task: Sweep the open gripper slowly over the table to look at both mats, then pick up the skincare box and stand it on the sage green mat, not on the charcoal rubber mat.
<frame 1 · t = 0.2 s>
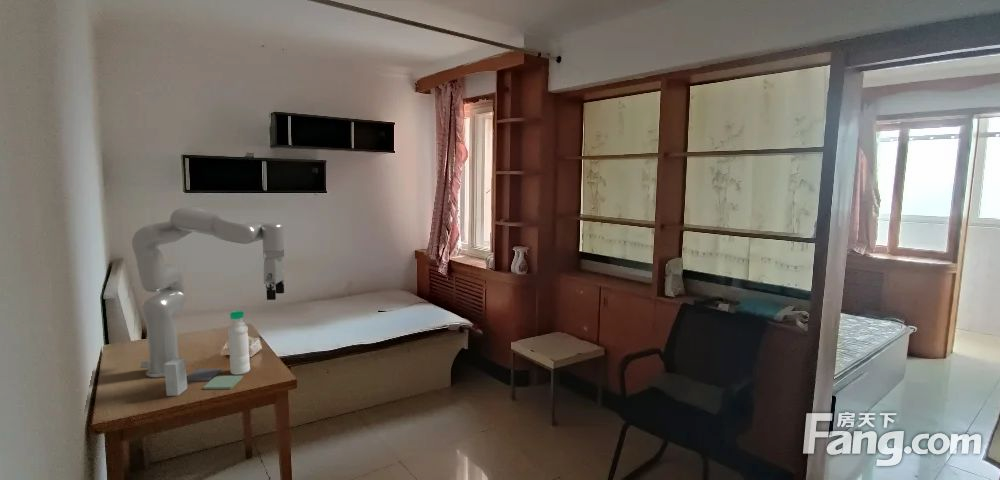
hand: (275, 296, 192), 31 cm above the table, tool pointing down, fingers open, 9 cm apart
sage mat: (223, 383, 184), on the table
charcoal mat: (203, 375, 190), on the table
water bottle: (240, 372, 194), on the table
skincare box: (177, 392, 176), on the table
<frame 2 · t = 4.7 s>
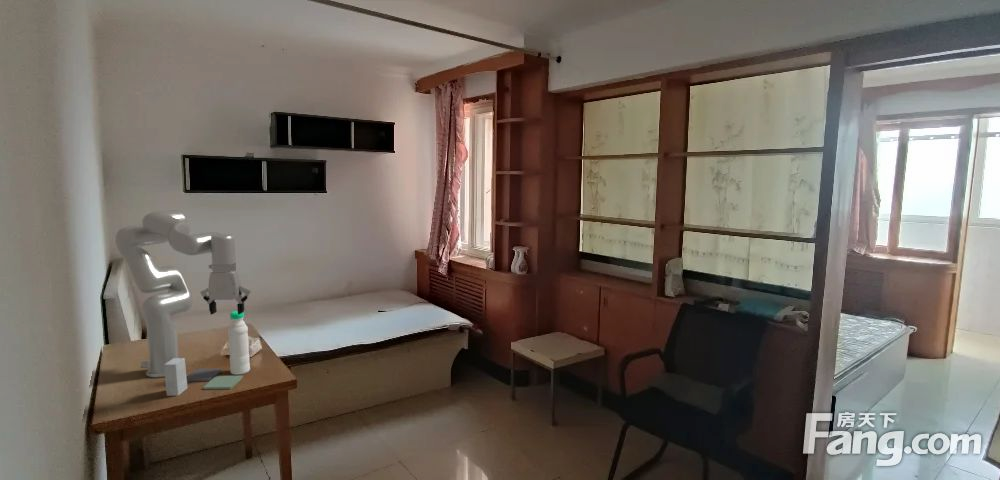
hand: (227, 313, 178), 28 cm above the table, tool pointing down, fingers open, 9 cm apart
nothing on the table moved.
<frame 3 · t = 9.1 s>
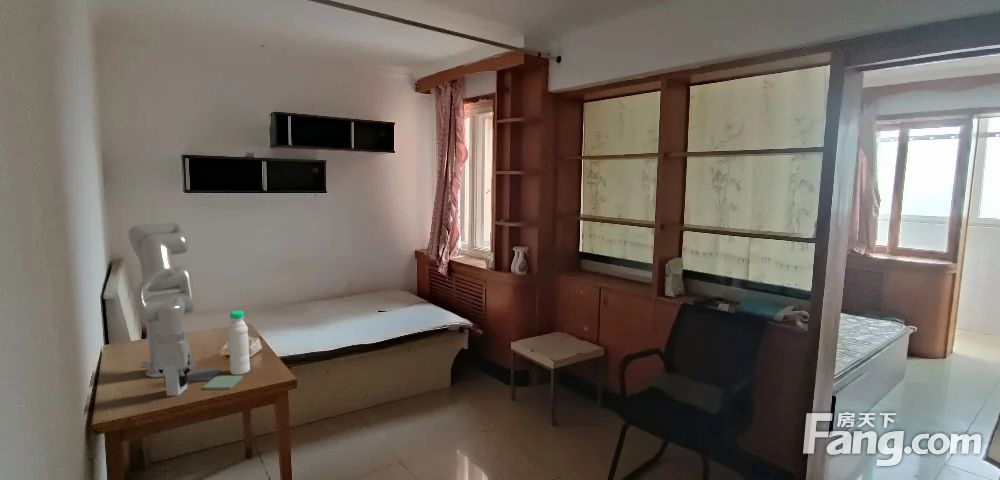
hand: (176, 384, 175), 3 cm above the table, tool pointing down, fingers closed on skincare box, 4 cm apart
skincare box: (177, 392, 176), on the table, touching gripper
everything else where it was.
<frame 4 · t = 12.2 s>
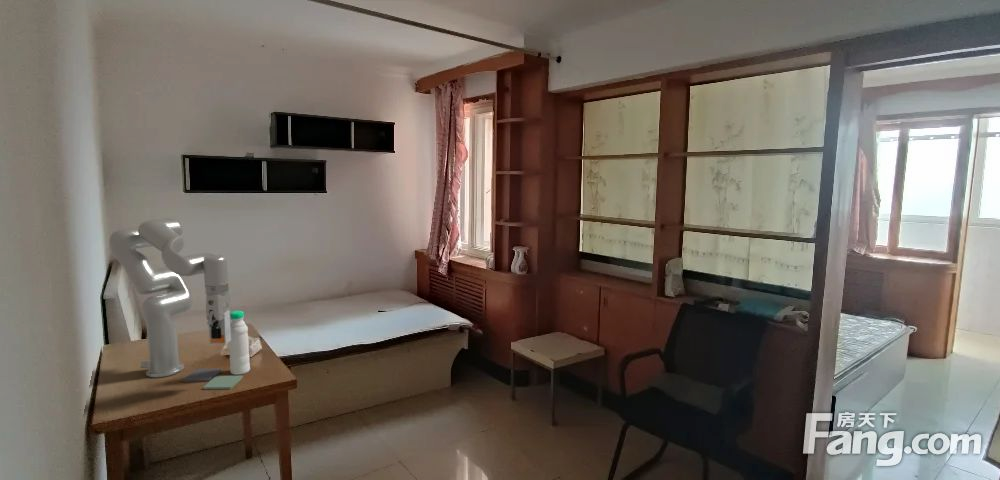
hand: (219, 335, 181), 19 cm above the table, tool pointing down, fingers closed on skincare box, 4 cm apart
skincare box: (220, 343, 181), point 16 cm above the table, touching gripper
everything else where it was.
when the fingers open (5 cm above the table, at t = 15.5 s): skincare box drops 1 cm, resting on sage mat.
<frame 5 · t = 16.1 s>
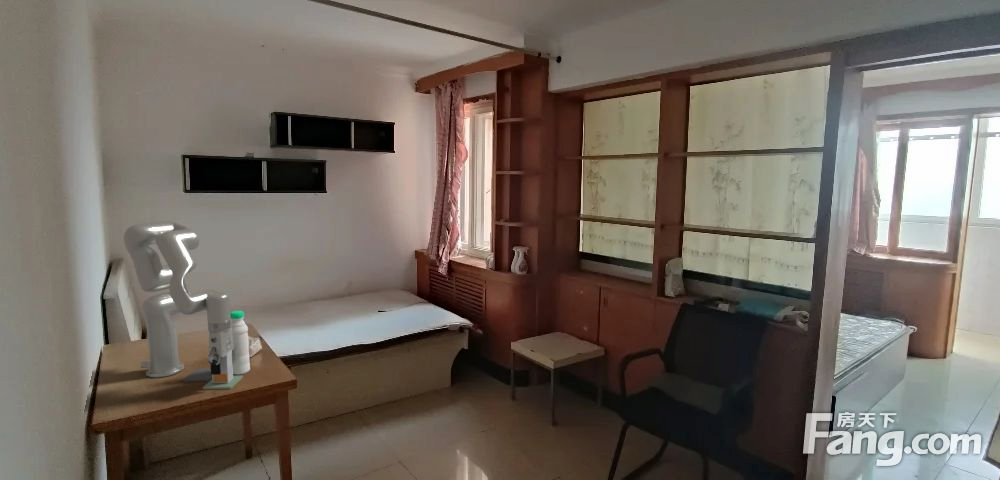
hand: (222, 368, 183), 6 cm above the table, tool pointing down, fingers open, 9 cm apart
water bottle: (240, 372, 194), on the table, touching gripper
skincare box: (223, 381, 184), point 1 cm above the table, touching sage mat
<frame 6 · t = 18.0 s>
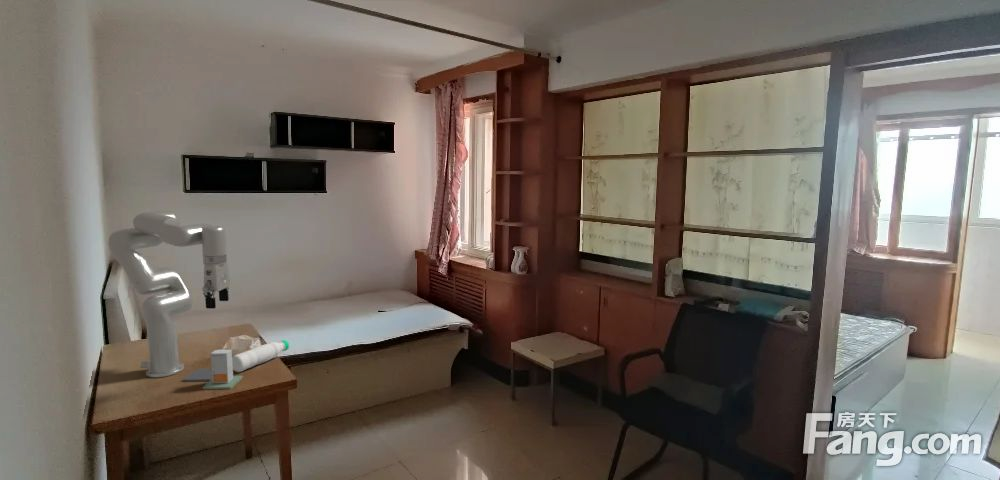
hand: (217, 304, 179), 31 cm above the table, tool pointing down, fingers open, 9 cm apart
water bottle: (235, 364, 193), point 4 cm above the table
everything else where it was.
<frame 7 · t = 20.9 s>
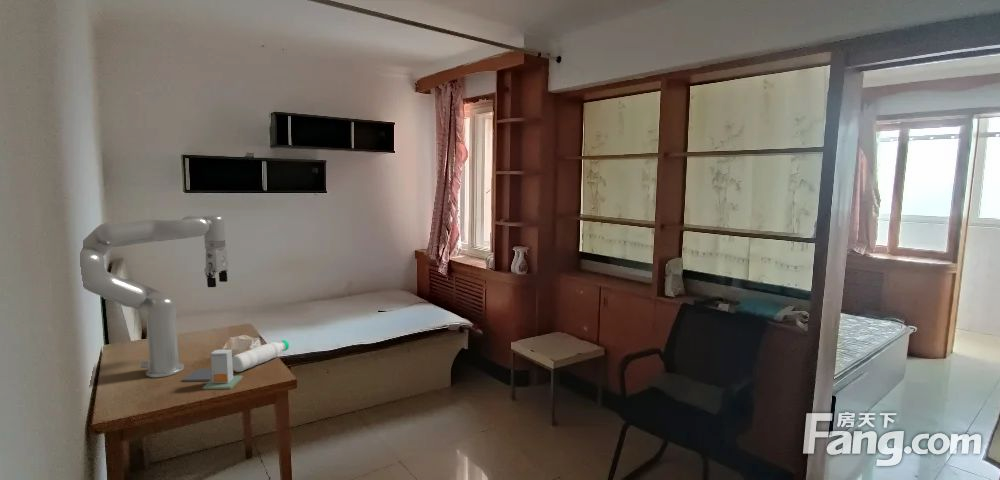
hand: (217, 284, 205), 32 cm above the table, tool pointing down, fingers open, 9 cm apart
nothing on the table moved.
at the end: skincare box inside the target area on the sage mat (0.1 cm from its centre), point 0.6 cm above the sage mat's base; skincare box tilted 0°; the gripper is holding nothing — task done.
